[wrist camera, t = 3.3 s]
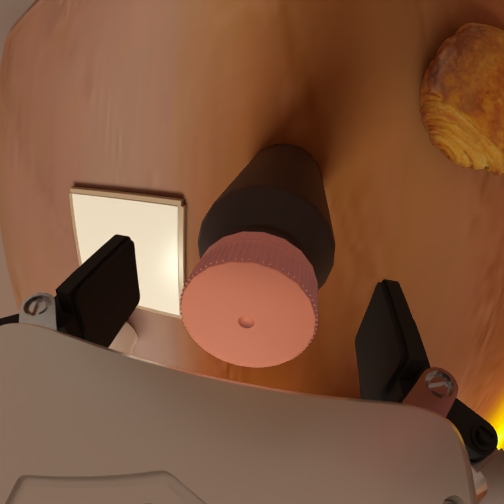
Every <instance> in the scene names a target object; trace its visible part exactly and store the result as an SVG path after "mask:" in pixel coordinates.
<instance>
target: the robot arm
mask: <svg viewBox="0 0 504 504" xmlns="http://www.w3.org/2000/svg"><path fill="white" fill-rule="evenodd" d="M56 293H57V295H56V296H55V297H53V296H52V295H50V294H48V293H37V294H33V295H31V296H29V297H28V298H26V299H25V300H24V301H23V303H22V304H21V307H20V313H19V314H16V315H12V316H9V317H4V318H1V319H0V504H504V451H503V449H502V448H501V449H500V450H498V449H497V448H496V447H497V443H498V437H497V434H496V431H495V429H494V428H493V426H492V425H491V424H490V423H488V422H487V421H486V420H484V419H483V418H482V417H480V416H479V415H478V414H477V413H475V412H474V411H473V410H471V409H470V408H469V407H467V406H466V405H465V404H463V403H462V402H461V401H460V400H458V399H457V398H456V396H457V394H458V385H457V382H456V380H455V379H454V377H453V376H452V375H451V374H450V373H449V372H447V371H446V370H444V369H441V368H437V367H433V368H430V364H429V361H428V358H427V355H426V352H425V349H424V346H423V343H422V340H421V337H420V334H419V332H418V329H417V326H416V323H415V321H414V319H413V317H412V315H411V312H410V309H409V307H408V304H407V302H406V299H405V297H404V294H403V292H402V289H401V287H400V284H399V282H397V281H392V280H385V279H384V280H383V281H382V282H381V283H380V282H378V283H377V285H376V287H375V290H374V293H373V295H372V298H371V301H370V303H369V306H368V308H367V311H366V313H365V316H364V318H363V321H362V323H361V326H360V328H359V330H358V333H357V335H356V339H355V347H356V355H357V364H358V372H359V382H360V392H361V399H356V398H345V397H336V396H327V395H318V394H310V393H302V392H295V391H288V390H282V389H275V388H269V387H263V386H258V385H252V384H247V383H241V382H236V381H231V380H226V379H222V378H217V377H212V376H208V375H203V374H199V373H195V372H191V371H187V370H183V369H179V368H175V367H171V366H167V365H164V364H160V363H156V362H153V361H149V360H146V359H142V358H139V357H135V356H132V355H129V354H126V353H122V352H119V351H116V350H113V349H110V348H109V346H110V345H111V343H112V342H113V340H114V339H115V337H116V336H117V334H118V333H119V331H120V330H121V328H122V327H123V325H124V324H125V323H126V321H127V320H128V318H129V317H130V315H131V314H132V312H133V311H134V310H135V308H136V307H137V305H138V304H139V301H140V290H139V282H138V274H137V265H136V255H135V245H134V242H133V241H132V240H131V238H130V237H129V236H124V235H118V234H116V235H114V236H113V237H112V238H111V239H109V240H108V241H107V242H106V243H105V244H104V245H103V246H102V247H100V248H99V249H98V250H97V251H96V252H95V253H94V254H93V255H92V256H91V257H89V258H88V259H87V260H86V261H85V262H84V263H83V264H82V265H81V266H80V267H79V268H78V269H77V270H75V271H74V272H73V273H72V274H71V275H70V276H69V277H68V278H67V279H66V280H65V281H64V282H63V283H62V284H61V285H60V286H59V287H58V288H57V289H56Z"/></svg>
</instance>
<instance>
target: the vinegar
mask: <svg viewBox="0 0 504 504" xmlns="http://www.w3.org/2000/svg"><path fill="white" fill-rule="evenodd" d="M198 248H199V256H200V261H199V263H198V264H197V265H196V267H195V268H194V270H193V272H192V273H191V275H190V276H189V278H188V280H187V281H186V283H185V285H184V287H183V290H182V291H181V292H182V294H181V295H180V297H181V299H180V300H179V301H180V302H181V303H180V304H179V306H181V308H180V311H181V314H180V315H182V320H183V321H184V322H183V324H184V325H185V326H186V327H185V328H187V330H188V332H189V333H190V336H192V338H193V339H194V340H195V341H196V342H197V344H199V345H200V346H201V347H202V348H203V349H204V350H205V351H207V352H209V354H212V355H214V356H216V357H217V358H218V359H221V360H223V361H226V362H228V363H232V364H235V365H238V366H244V367H245V366H246V367H254V368H255V367H257V368H261V367H268V366H270V367H271V366H276V365H279V364H280V365H281V363H286V361H288V360H289V361H290V360H291V359H293V358H294V359H295V357H296V356H299V353H303V350H306V347H307V346H309V342H310V343H312V339H314V334H316V330H317V325H318V290H319V289H320V288H321V287H322V286H323V285H324V283H325V282H326V280H327V278H328V276H329V273H330V271H331V269H332V267H333V263H334V253H335V240H334V235H333V229H332V224H331V219H330V214H329V209H328V204H327V200H326V195H325V191H324V186H323V182H322V177H321V174H320V170H319V167H318V164H317V163H316V162H315V160H314V159H313V157H312V156H311V155H310V154H309V153H307V152H306V151H305V150H303V149H302V148H300V147H297V146H294V145H291V144H276V145H273V146H270V147H267V148H265V149H264V150H263V151H261V152H260V153H258V154H257V155H256V156H255V157H254V158H253V159H252V161H251V162H250V163H249V164H248V165H247V166H246V167H245V168H244V169H243V171H242V172H241V173H240V174H239V175H238V176H237V177H236V178H235V180H234V181H233V182H232V183H231V184H230V185H229V186H228V187H227V189H226V190H225V191H224V192H223V193H222V194H221V196H220V197H219V198H218V199H217V200H216V201H215V202H214V204H213V205H212V207H211V208H210V210H209V211H208V213H207V214H206V216H205V218H204V219H203V221H202V224H201V228H200V233H199V237H198Z"/></svg>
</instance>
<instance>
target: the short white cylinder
mask: <svg viewBox="0 0 504 504" xmlns="http://www.w3.org/2000/svg"><path fill="white" fill-rule="evenodd" d="M137 341H138V338H137V334H136V332H135V330H134V329H133V328H132V327H131V326H130V324H128V323H127V322H126V323H125V324H124V325H123V327H122V328H121V330H120V331H119V333H118V334H117V336H116V337H115V339H114V340H113V342H112V343H111V345H110V346H109V348H110V349H113V350H116V351H119V352H122V353H126V354H129V355H131V354H132V352H133V349H134V347H135V345H136V343H137Z"/></svg>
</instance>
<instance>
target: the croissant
mask: <svg viewBox="0 0 504 504" xmlns="http://www.w3.org/2000/svg"><path fill="white" fill-rule="evenodd" d="M420 91H421V92H420V104H419V105H420V108H421V109H420V113H421V114H422V123H423V125H424V127H425V129H426V130H427V132H428V133H429V135H430V137H429V138H430V140H431V142H432V144H433V145H434V146H436V147H438V148H440V150H441V151H442V153H443V154H444V155H445V156H446V157H447V158H449V159H450V160H451V161H453V163H455V164H458V165H461V167H462V168H463V167H470V168H471V169H475V170H479V169H485V170H487V171H492V172H493V173H494V175H495V174H496V175H500V174H504V31H503V30H502V29H500V28H498V27H495V26H494V27H493V26H490V25H488V24H479V23H474V22H470V23H465V24H464V25H463V26H461V27H460V28H459V29H458V30H457V32H456V33H455V34H454V35H451V36H450V37H448V38H447V39H446V40H444V42H443V43H442V44H441V45H440V47H439V48H438V50H437V55H436V58H434V59H433V60H432V61H431V62H430V65H429V67H428V68H427V69H426V71H425V74H424V78H423V81H422V84H421V90H420Z"/></svg>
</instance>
